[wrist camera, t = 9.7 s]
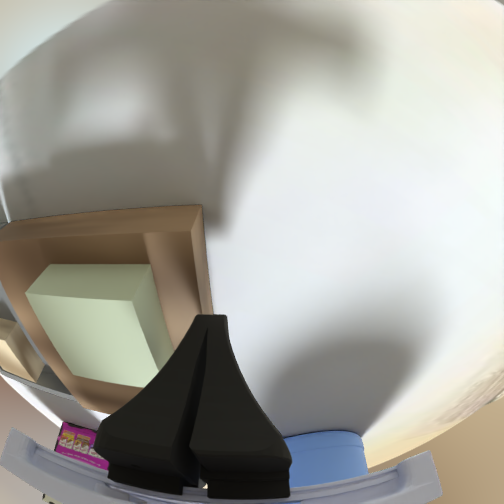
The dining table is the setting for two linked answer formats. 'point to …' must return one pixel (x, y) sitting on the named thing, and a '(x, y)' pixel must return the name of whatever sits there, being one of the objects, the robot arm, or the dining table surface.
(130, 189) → the dining table surface
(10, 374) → the tray
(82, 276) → the sage tile
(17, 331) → the ash block
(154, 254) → the walnut board
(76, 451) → the candy bar box
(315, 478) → the water jug
